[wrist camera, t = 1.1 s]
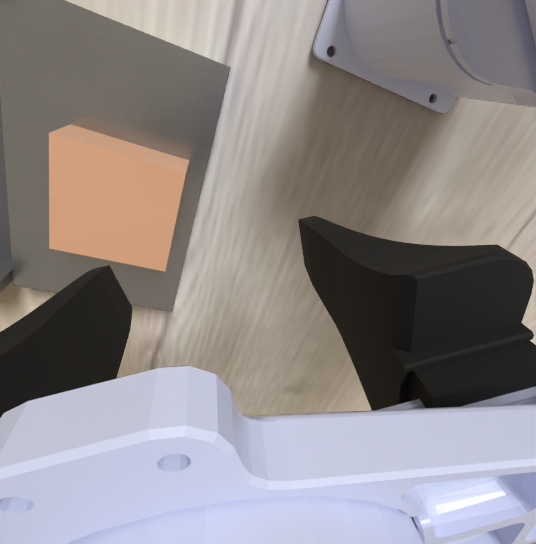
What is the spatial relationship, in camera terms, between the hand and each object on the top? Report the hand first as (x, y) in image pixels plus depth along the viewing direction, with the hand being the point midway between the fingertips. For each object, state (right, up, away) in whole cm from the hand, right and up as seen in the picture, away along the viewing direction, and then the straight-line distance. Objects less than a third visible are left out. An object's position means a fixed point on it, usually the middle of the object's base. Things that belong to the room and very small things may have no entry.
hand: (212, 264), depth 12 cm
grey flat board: (-7, +5, +8) cm, 12 cm away
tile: (-6, +4, +6) cm, 10 cm away
